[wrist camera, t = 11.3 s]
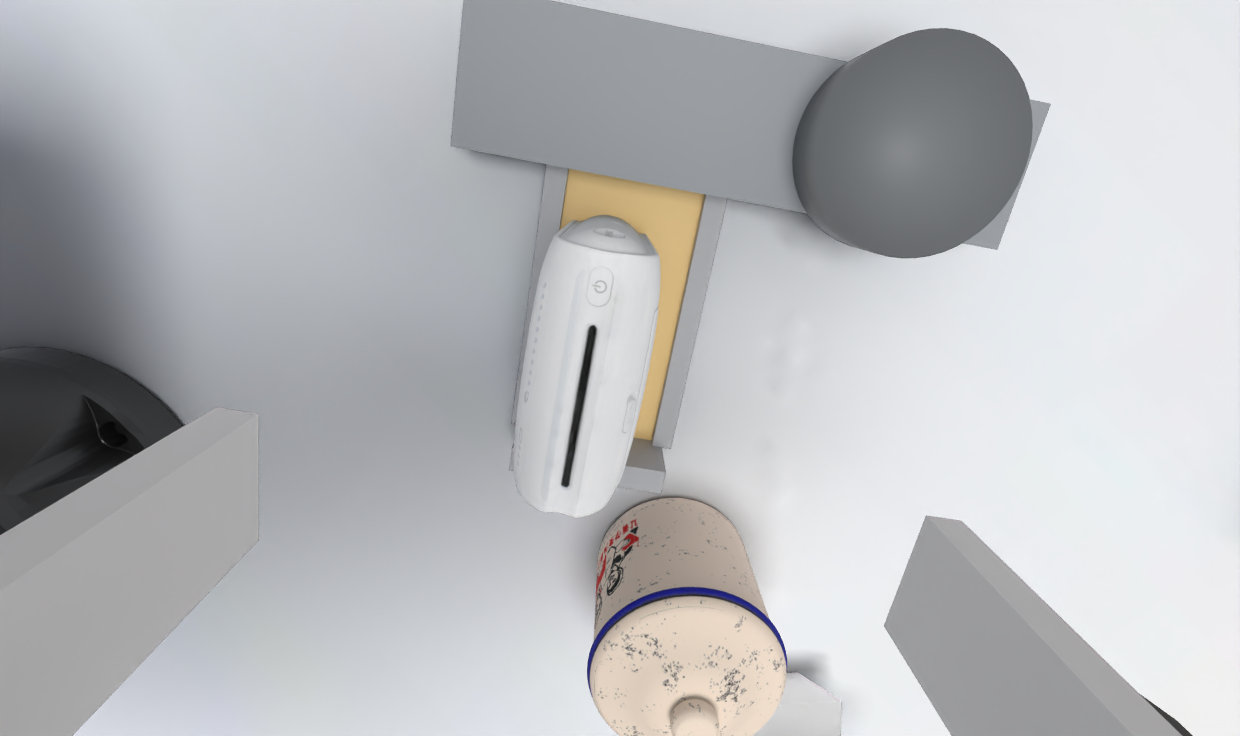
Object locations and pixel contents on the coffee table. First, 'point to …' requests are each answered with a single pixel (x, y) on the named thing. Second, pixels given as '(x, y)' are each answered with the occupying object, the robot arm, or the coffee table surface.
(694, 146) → the deck
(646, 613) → the teacup with lid
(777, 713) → the figurine
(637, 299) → the photo printer
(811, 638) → the coffee table surface
